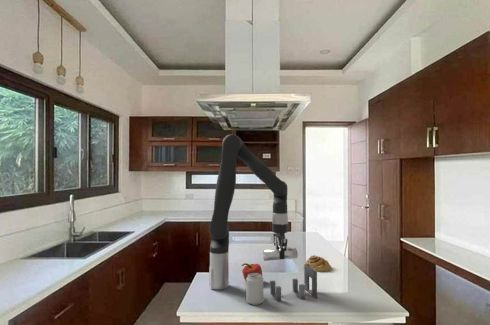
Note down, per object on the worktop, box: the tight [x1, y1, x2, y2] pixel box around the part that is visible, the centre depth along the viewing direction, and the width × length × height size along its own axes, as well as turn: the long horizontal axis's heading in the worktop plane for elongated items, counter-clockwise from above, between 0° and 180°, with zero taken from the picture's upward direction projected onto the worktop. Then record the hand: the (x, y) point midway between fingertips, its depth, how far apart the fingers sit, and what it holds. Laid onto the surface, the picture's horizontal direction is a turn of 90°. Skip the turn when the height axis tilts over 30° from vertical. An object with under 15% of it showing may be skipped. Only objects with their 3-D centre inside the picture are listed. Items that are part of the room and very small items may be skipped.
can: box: [245, 273, 264, 306], centre depth 154 cm, size 8×8×12 cm
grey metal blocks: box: [269, 279, 282, 302], centre depth 159 cm, size 2×10×6 cm, turn 13°
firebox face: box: [303, 263, 318, 300], centre depth 163 cm, size 1×12×12 cm, turn 13°
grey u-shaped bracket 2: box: [292, 277, 306, 300], centre depth 162 cm, size 2×10×6 cm, turn 13°
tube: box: [262, 247, 299, 262], centre depth 170 cm, size 16×5×5 cm, turn 103°
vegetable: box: [241, 262, 263, 282], centre depth 179 cm, size 11×10×10 cm
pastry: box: [304, 254, 333, 273], centre depth 202 cm, size 13×15×8 cm
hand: (280, 257), depth 170 cm, fingers closed on tube, 5 cm apart
